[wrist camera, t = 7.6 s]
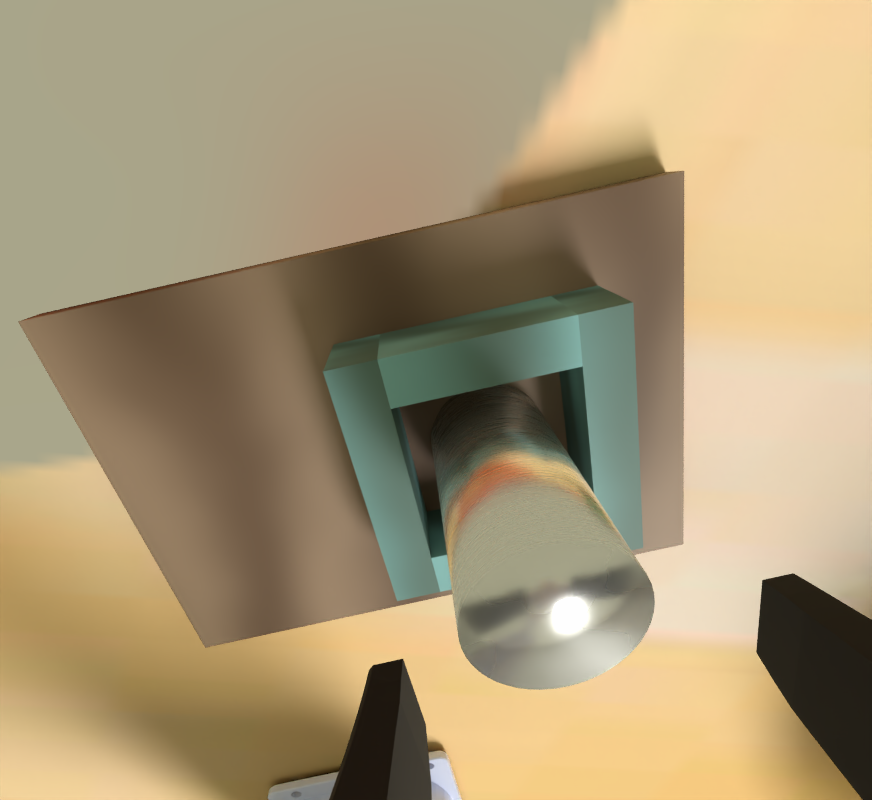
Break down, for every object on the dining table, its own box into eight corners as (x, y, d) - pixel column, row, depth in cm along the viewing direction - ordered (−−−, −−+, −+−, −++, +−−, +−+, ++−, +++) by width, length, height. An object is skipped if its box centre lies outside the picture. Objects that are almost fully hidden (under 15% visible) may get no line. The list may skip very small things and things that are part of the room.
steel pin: (450, 497, 18) (487, 709, 11) (415, 404, 16) (431, 578, 9) (554, 465, 18) (665, 658, 10) (529, 367, 16) (639, 515, 9)
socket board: (213, 627, 21) (180, 706, 18) (40, 313, 15) (-53, 346, 12) (670, 528, 21) (721, 590, 17) (666, 172, 15) (739, 167, 12)
